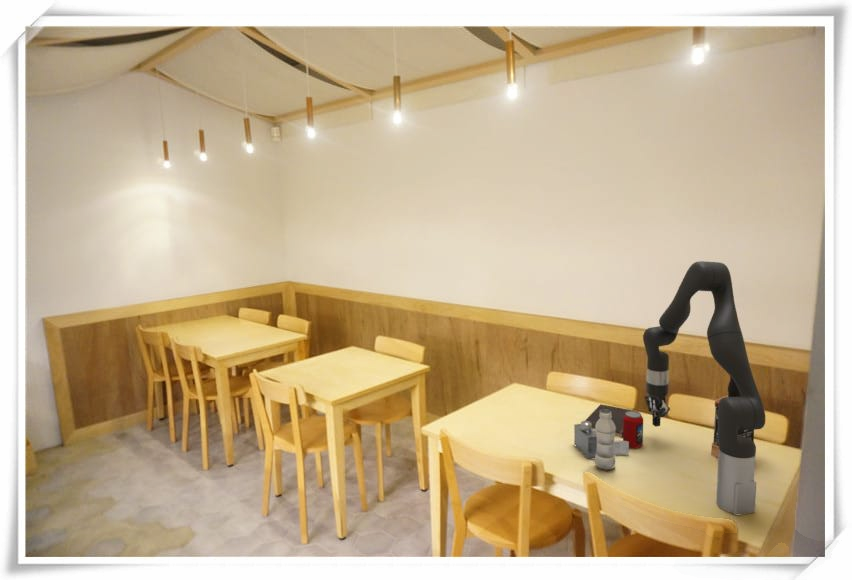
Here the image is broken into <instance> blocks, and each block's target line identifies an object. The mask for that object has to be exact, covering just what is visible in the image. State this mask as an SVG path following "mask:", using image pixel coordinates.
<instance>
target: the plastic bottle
mask: <svg viewBox="0 0 852 580" xmlns="http://www.w3.org/2000/svg"><path fill="white" fill-rule="evenodd" d="M599 417H600V419H599V420H598V421H597V423H596V425H595V429H596V435H597V449H596V455H595V458H594V463H595V465H596V468H599V469H601V470H604V471H609V470H613V469H614V467H615V466H616V457H615V456H616V455H614V441H615V437H616V436H615V432H616V426H615V424H614V422H613V421H612V420H611V418H612V416H611V411H609V410H600V415H599Z"/></svg>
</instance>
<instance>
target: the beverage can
mask: <svg viewBox="0 0 852 580" xmlns="http://www.w3.org/2000/svg"><path fill="white" fill-rule="evenodd" d="M636 411H637V410H634V411H628V412H626V413H625V415H624V417H623V438H622V440H623V441H629V448H631V449H637V448H640V447H642V446H643V442H644V417H643V416H642V413H641V412H640V411H638V412H636Z"/></svg>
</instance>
